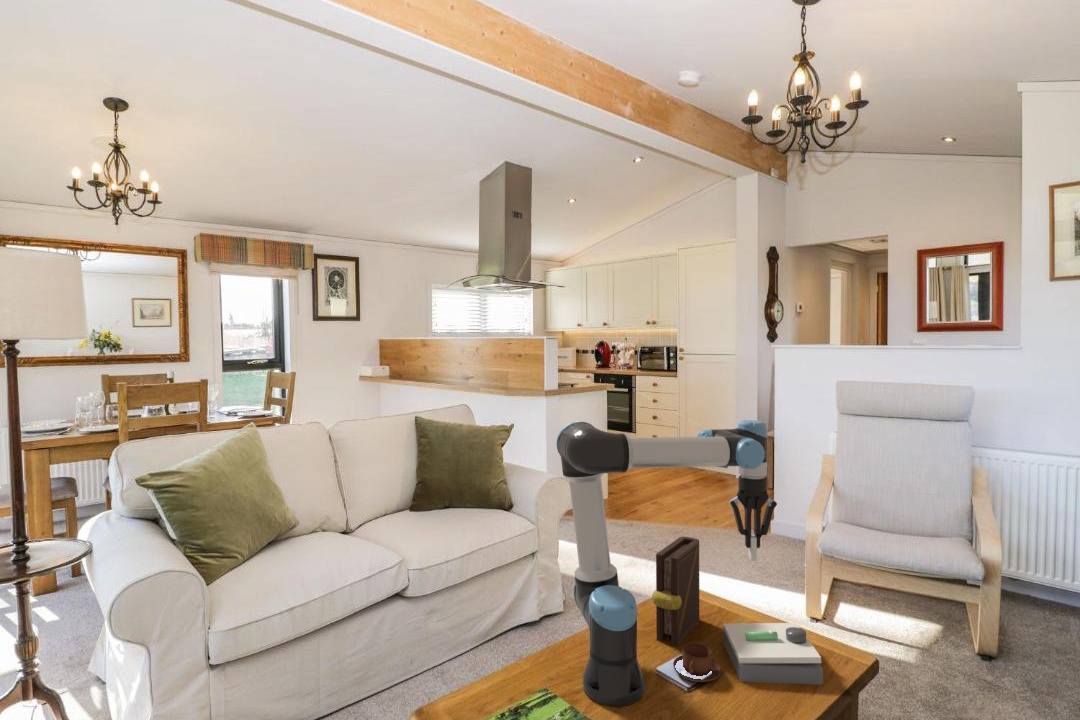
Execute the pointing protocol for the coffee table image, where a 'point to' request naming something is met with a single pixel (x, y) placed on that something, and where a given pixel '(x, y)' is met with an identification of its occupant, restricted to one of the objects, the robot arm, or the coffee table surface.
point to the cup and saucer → (698, 662)
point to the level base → (775, 670)
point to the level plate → (770, 643)
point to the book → (677, 589)
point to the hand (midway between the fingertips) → (752, 558)
